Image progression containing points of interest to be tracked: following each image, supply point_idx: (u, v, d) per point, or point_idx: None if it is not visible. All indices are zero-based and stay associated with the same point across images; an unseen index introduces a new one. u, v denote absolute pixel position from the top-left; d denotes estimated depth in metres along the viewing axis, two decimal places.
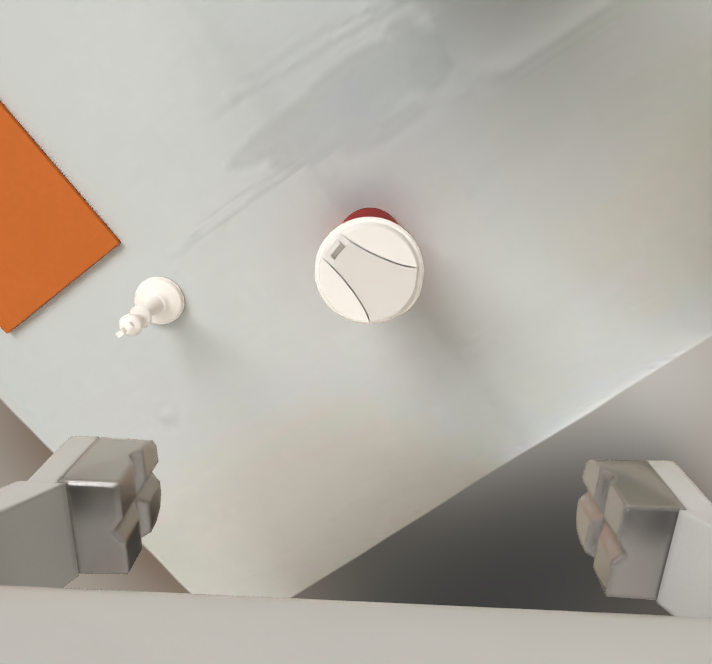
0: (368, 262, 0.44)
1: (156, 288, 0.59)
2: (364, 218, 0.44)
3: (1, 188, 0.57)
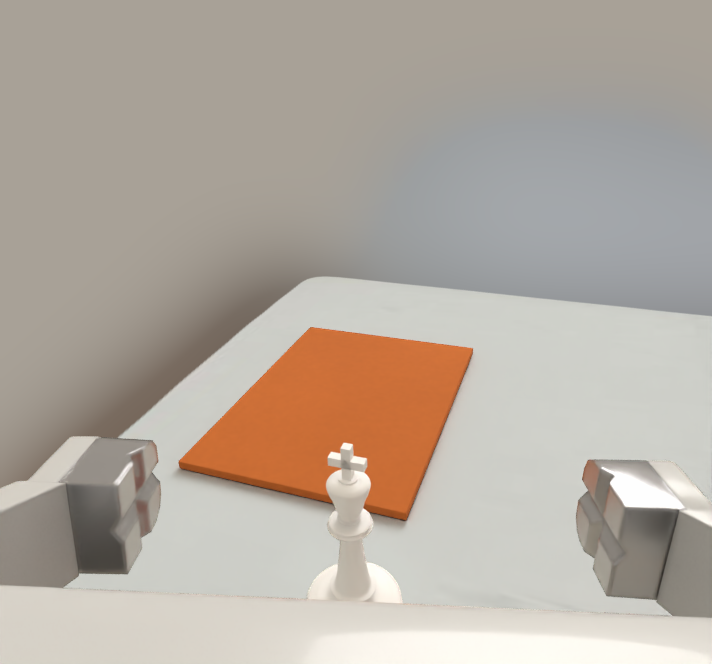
0: None
1: (379, 579, 0.31)
2: None
3: (374, 405, 0.46)
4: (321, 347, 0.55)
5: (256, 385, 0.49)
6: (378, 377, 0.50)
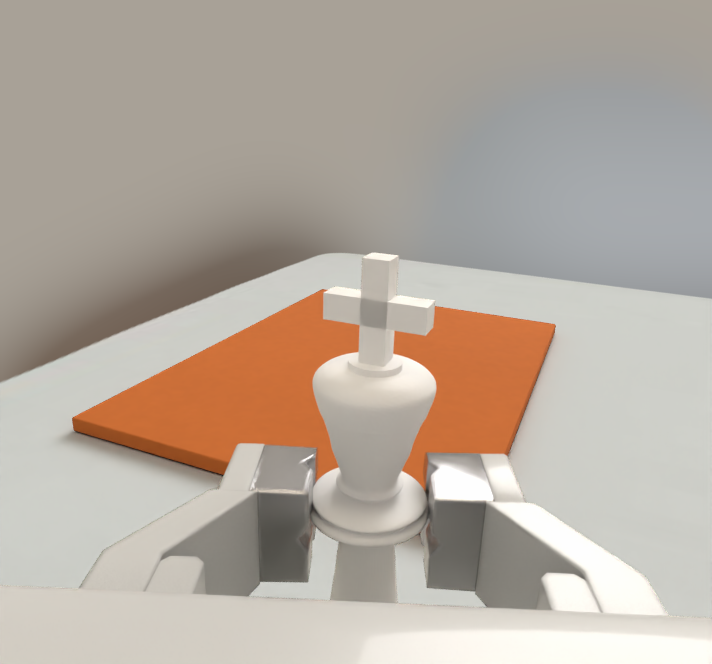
0: None
1: None
2: None
3: None
4: None
5: (231, 338, 0.33)
6: (416, 343, 0.33)
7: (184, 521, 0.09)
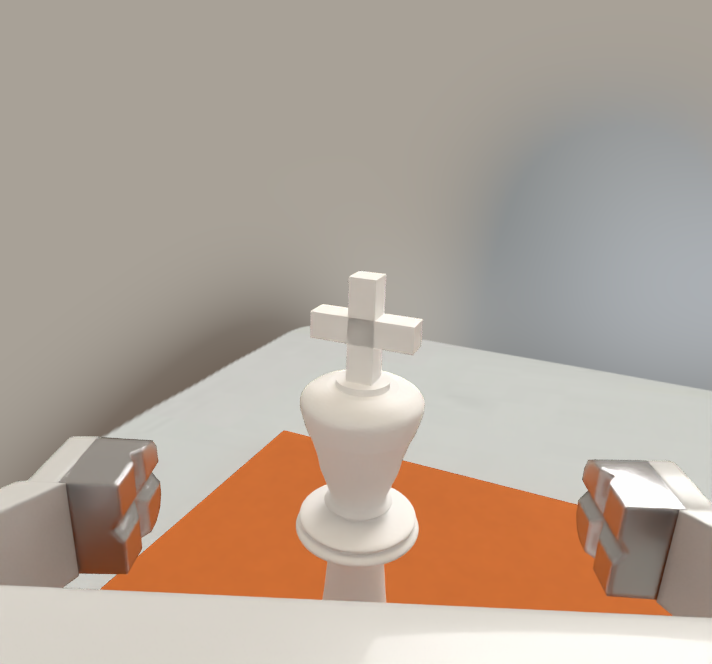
0: None
1: None
2: None
3: None
4: (299, 495, 0.21)
5: None
6: None
7: None
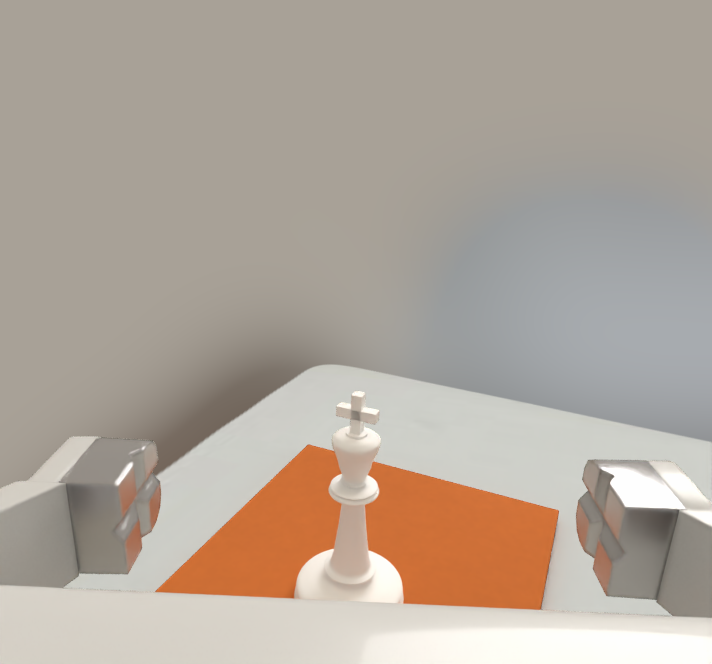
0: None
1: (380, 566, 0.27)
2: None
3: None
4: (320, 483, 0.35)
5: (204, 550, 0.30)
6: (406, 556, 0.30)
7: None
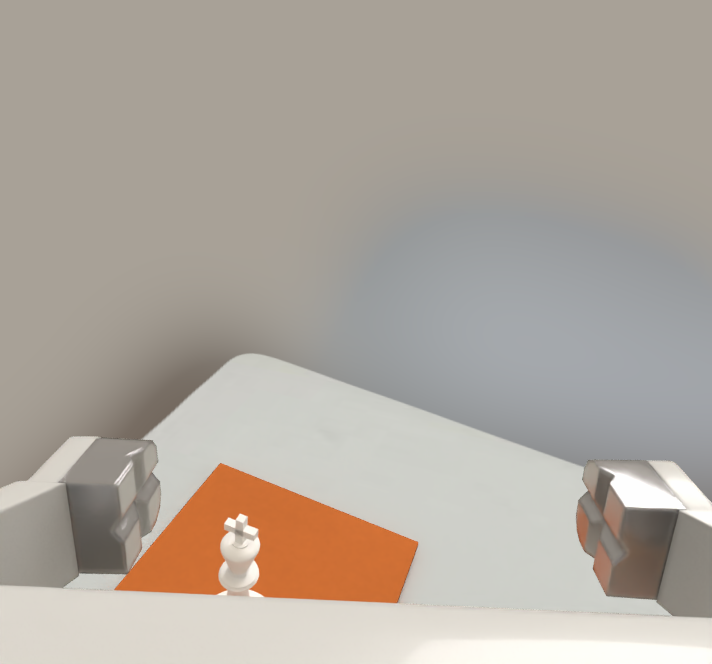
0: None
1: None
2: None
3: None
4: (226, 510, 0.42)
5: (122, 586, 0.36)
6: (287, 592, 0.38)
7: None
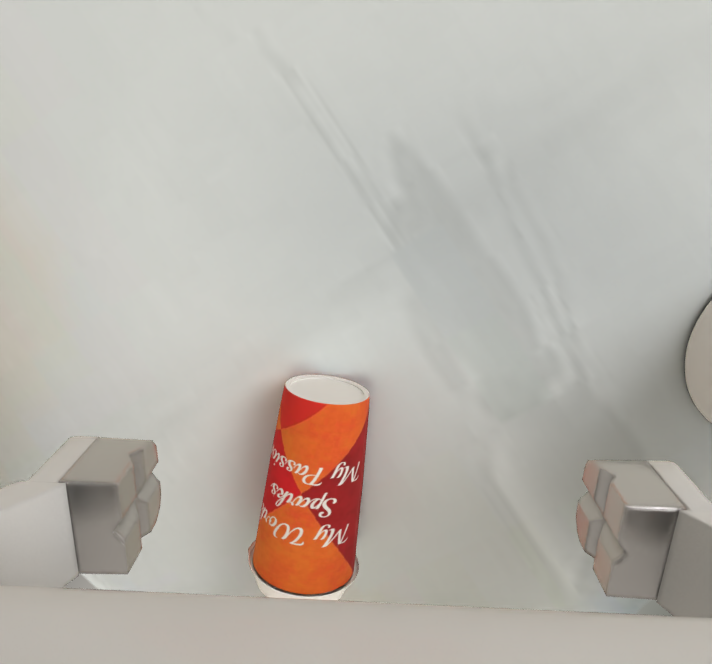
0: None
1: None
2: None
3: None
4: None
5: None
6: None
7: None
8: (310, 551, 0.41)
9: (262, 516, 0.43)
